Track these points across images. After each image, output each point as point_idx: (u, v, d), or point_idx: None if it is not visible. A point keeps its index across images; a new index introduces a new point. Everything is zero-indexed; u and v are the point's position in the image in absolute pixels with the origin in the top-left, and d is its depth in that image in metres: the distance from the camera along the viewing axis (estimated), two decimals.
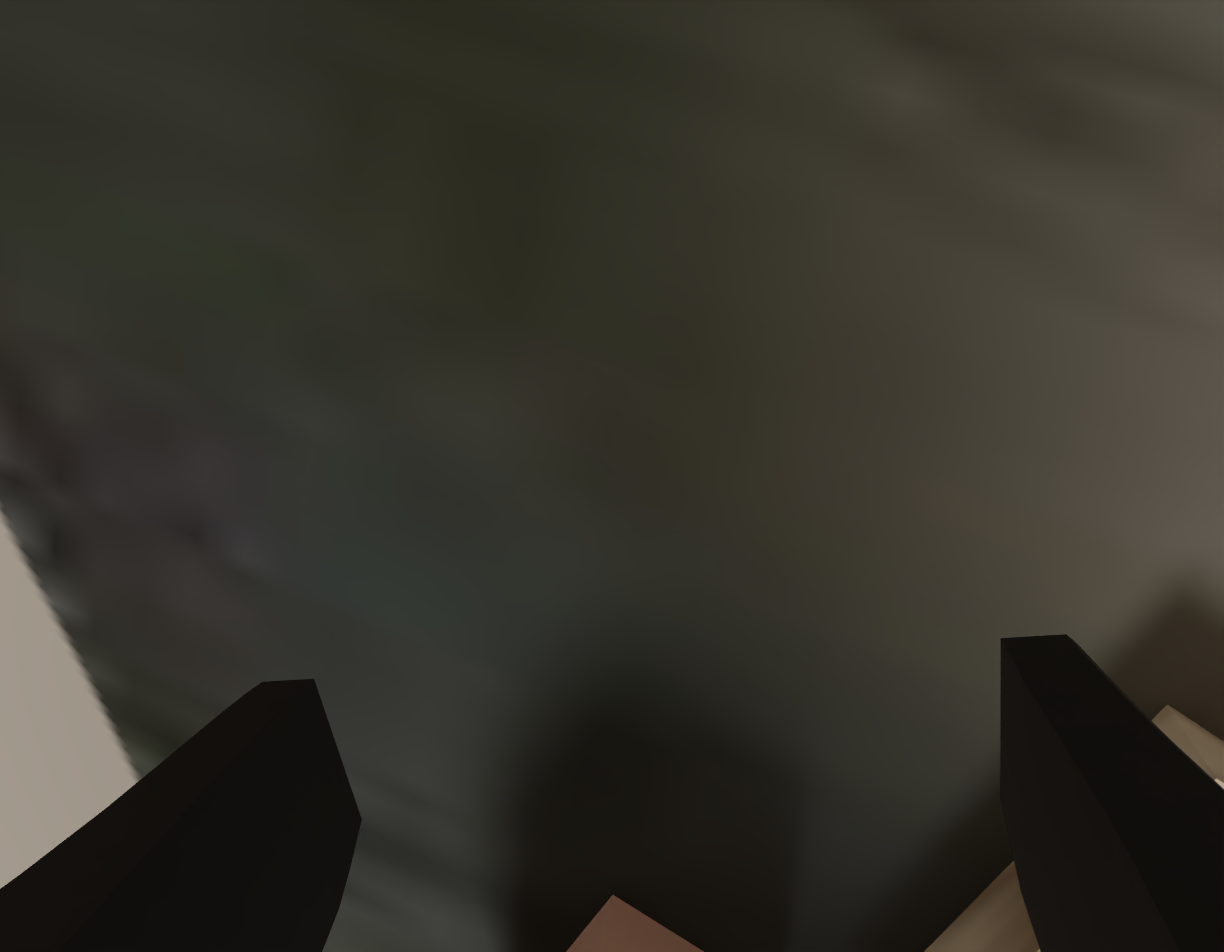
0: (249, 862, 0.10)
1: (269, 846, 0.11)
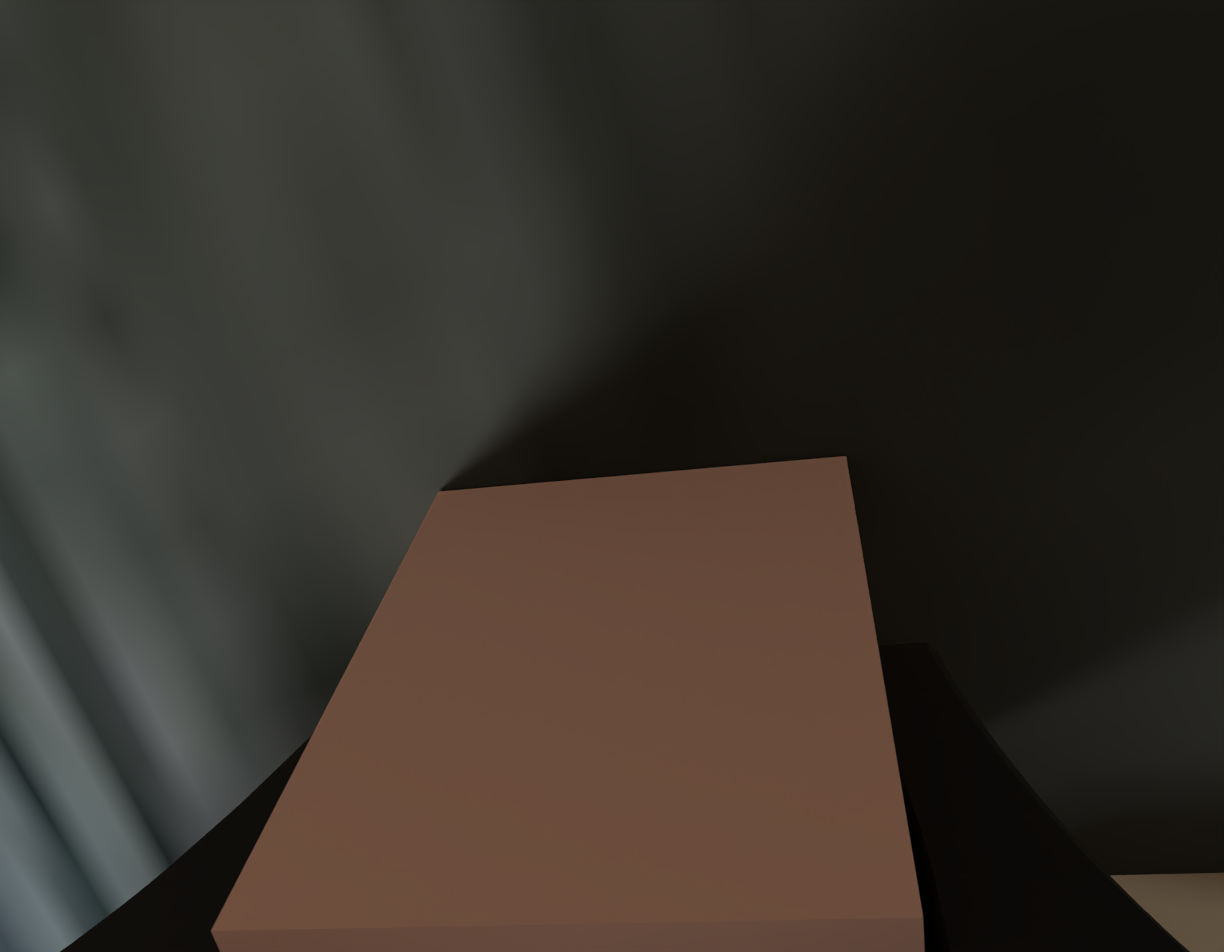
0: None
1: None
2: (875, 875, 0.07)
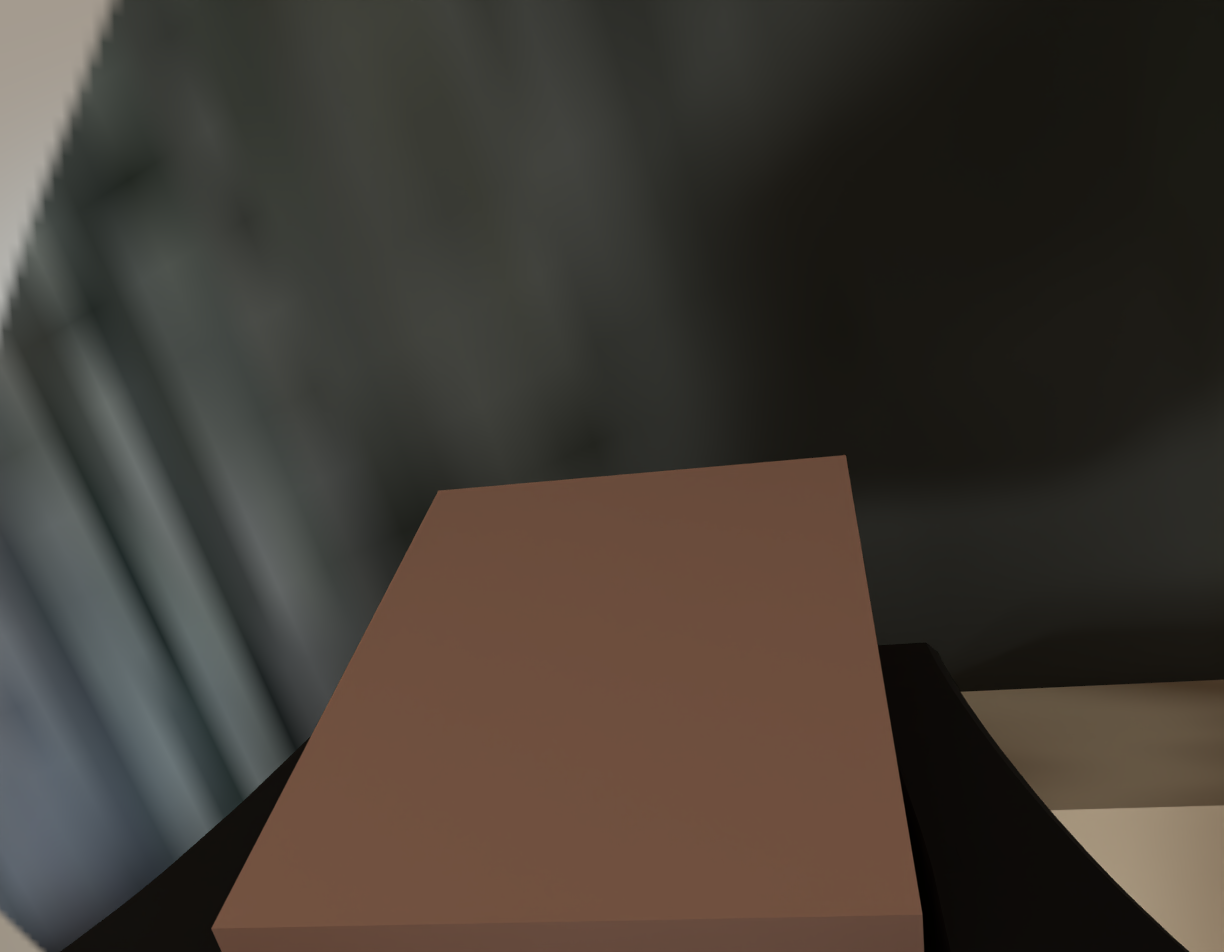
0: None
1: None
2: (875, 873, 0.07)
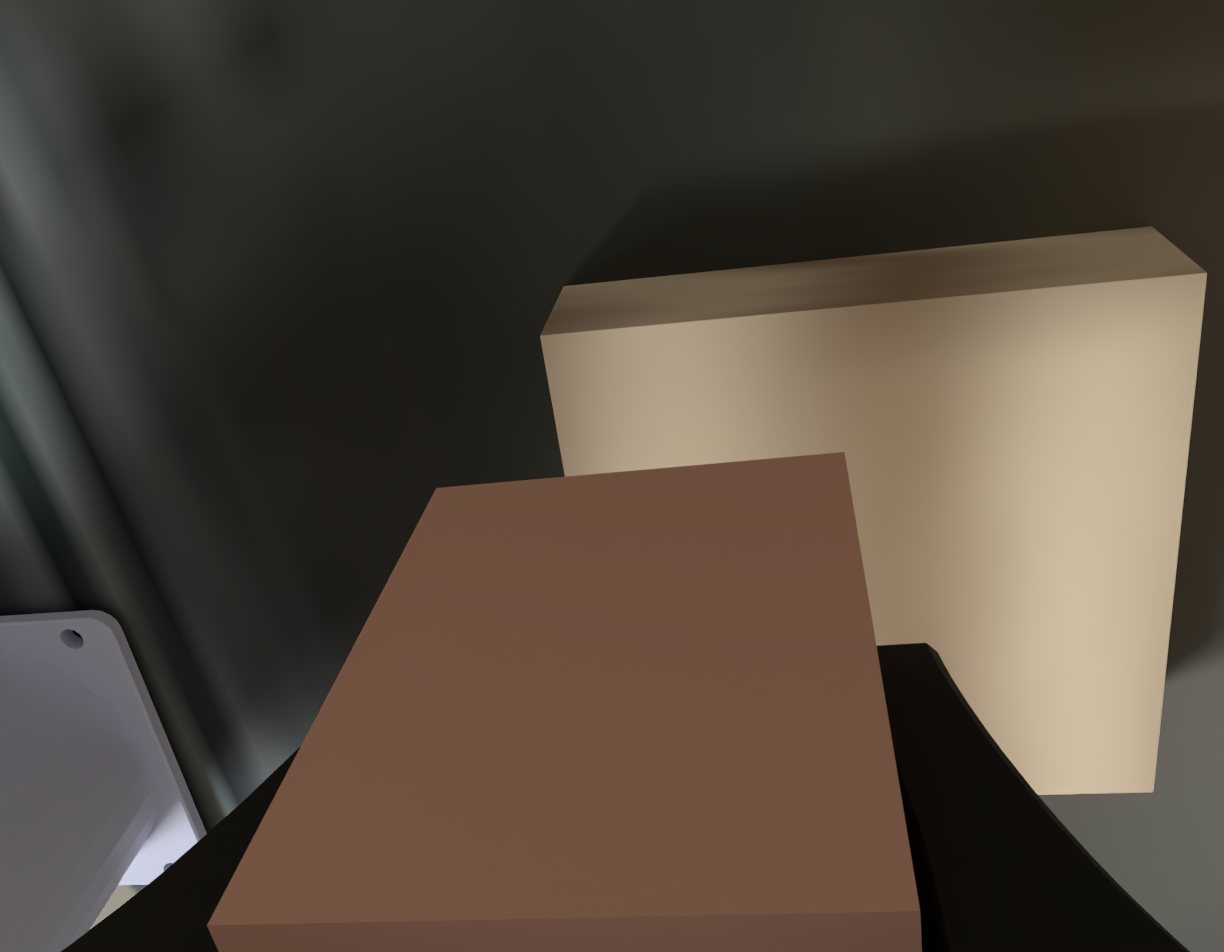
0: None
1: None
2: (872, 869, 0.07)
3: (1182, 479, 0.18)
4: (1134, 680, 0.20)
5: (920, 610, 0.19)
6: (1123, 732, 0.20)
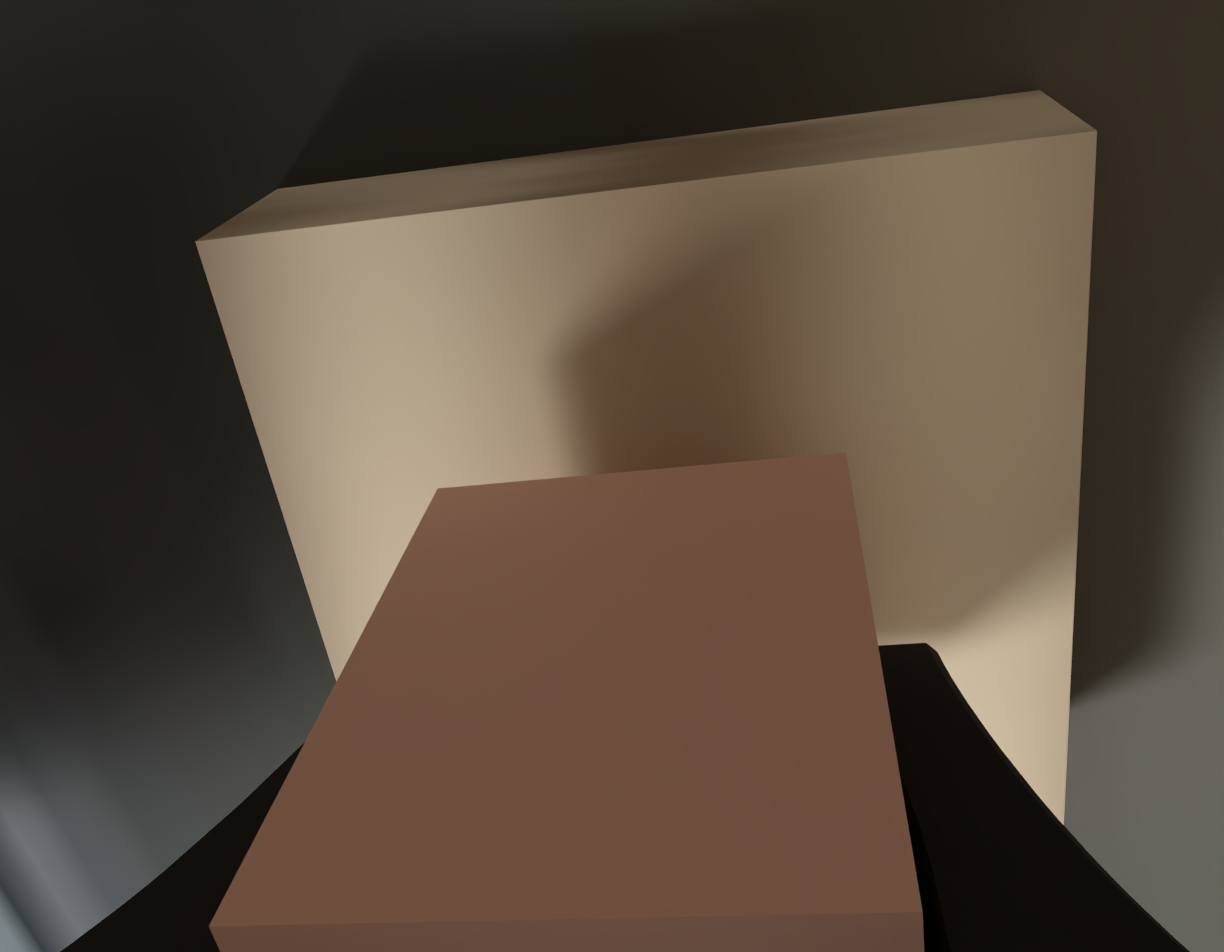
0: None
1: None
2: (874, 871, 0.07)
3: (1078, 431, 0.13)
4: (1029, 704, 0.15)
5: None
6: (1020, 772, 0.15)
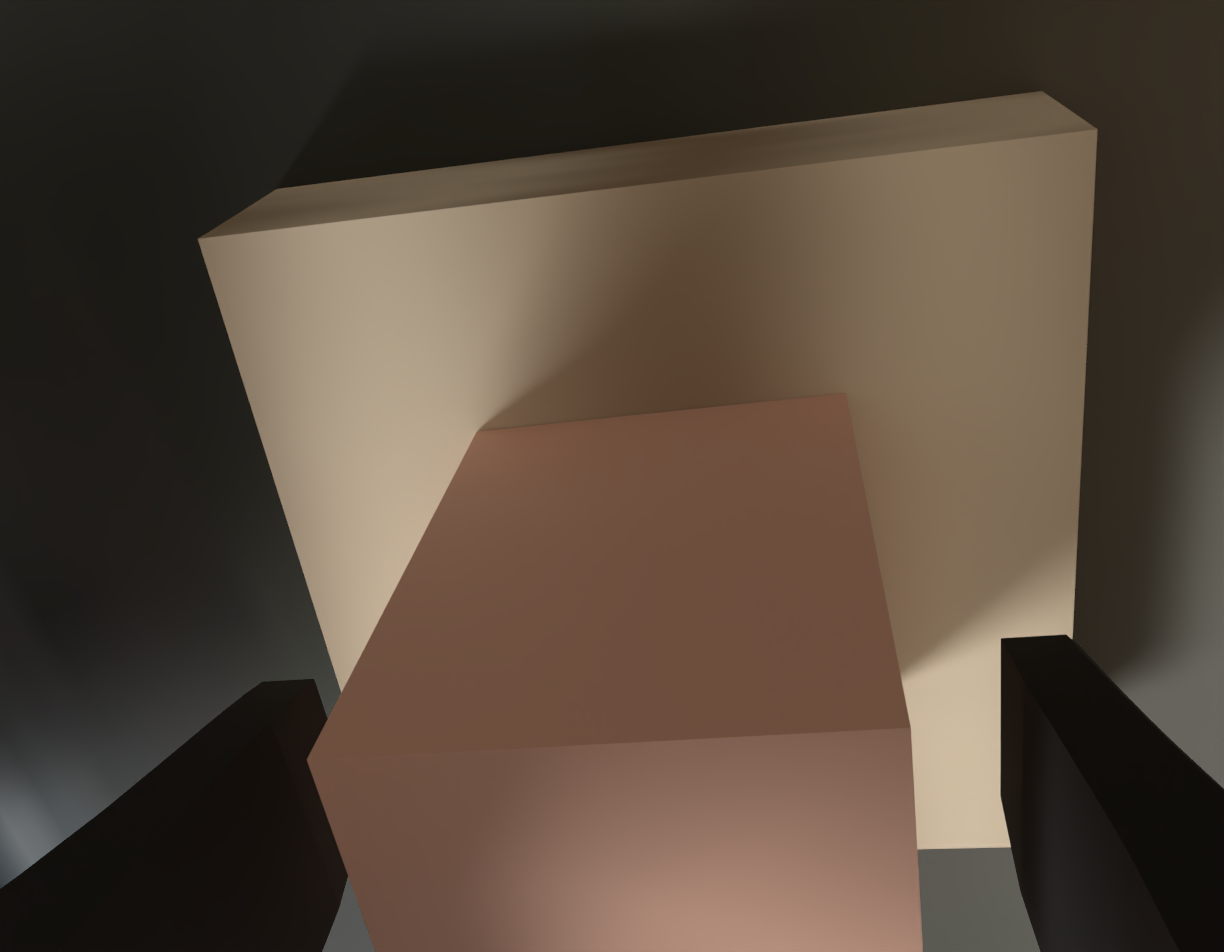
0: (248, 861, 0.10)
1: (269, 846, 0.11)
2: (871, 700, 0.08)
3: (1078, 429, 0.13)
4: None
5: None
6: None
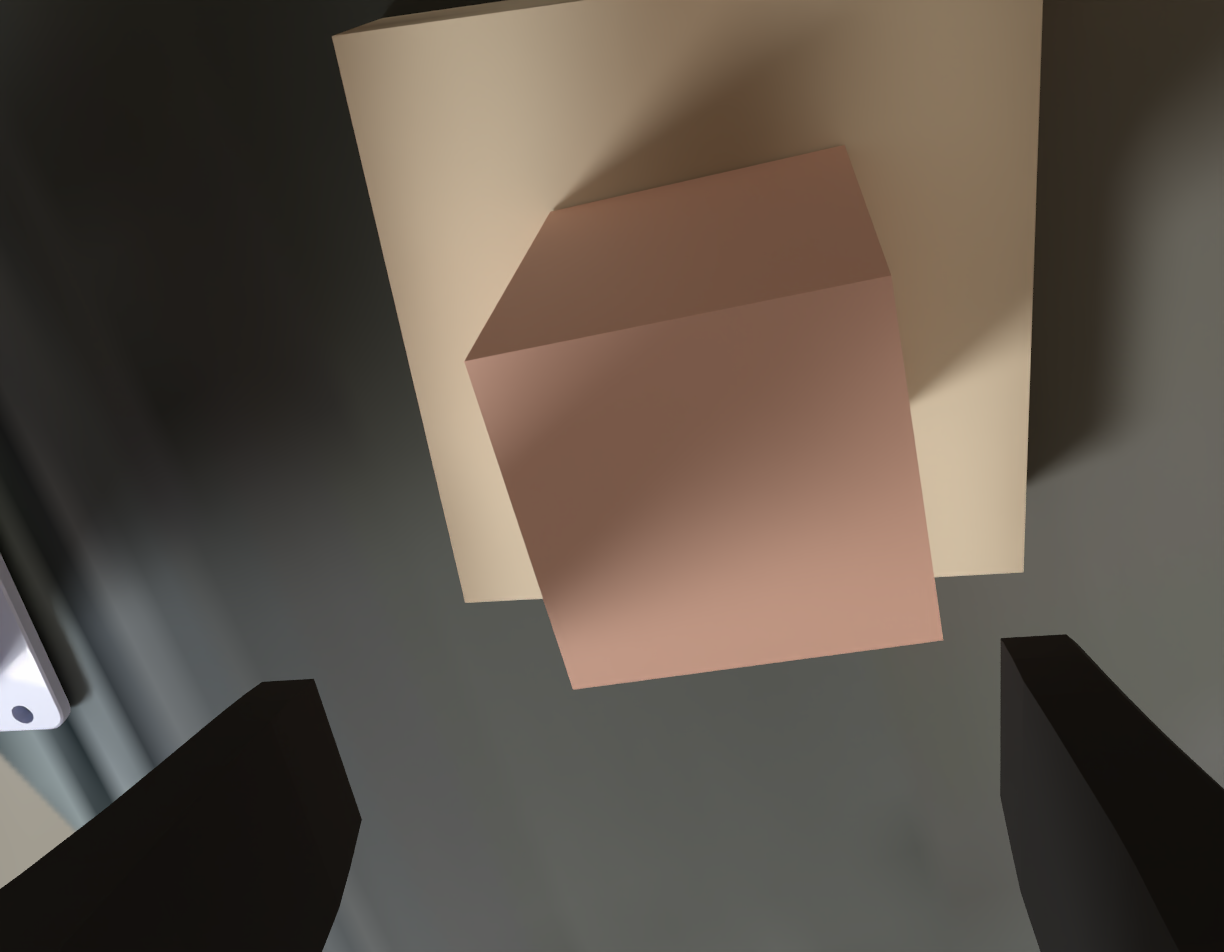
0: (249, 861, 0.10)
1: (269, 846, 0.11)
2: (863, 270, 0.11)
3: (1032, 191, 0.16)
4: (995, 438, 0.18)
5: None
6: (988, 502, 0.19)
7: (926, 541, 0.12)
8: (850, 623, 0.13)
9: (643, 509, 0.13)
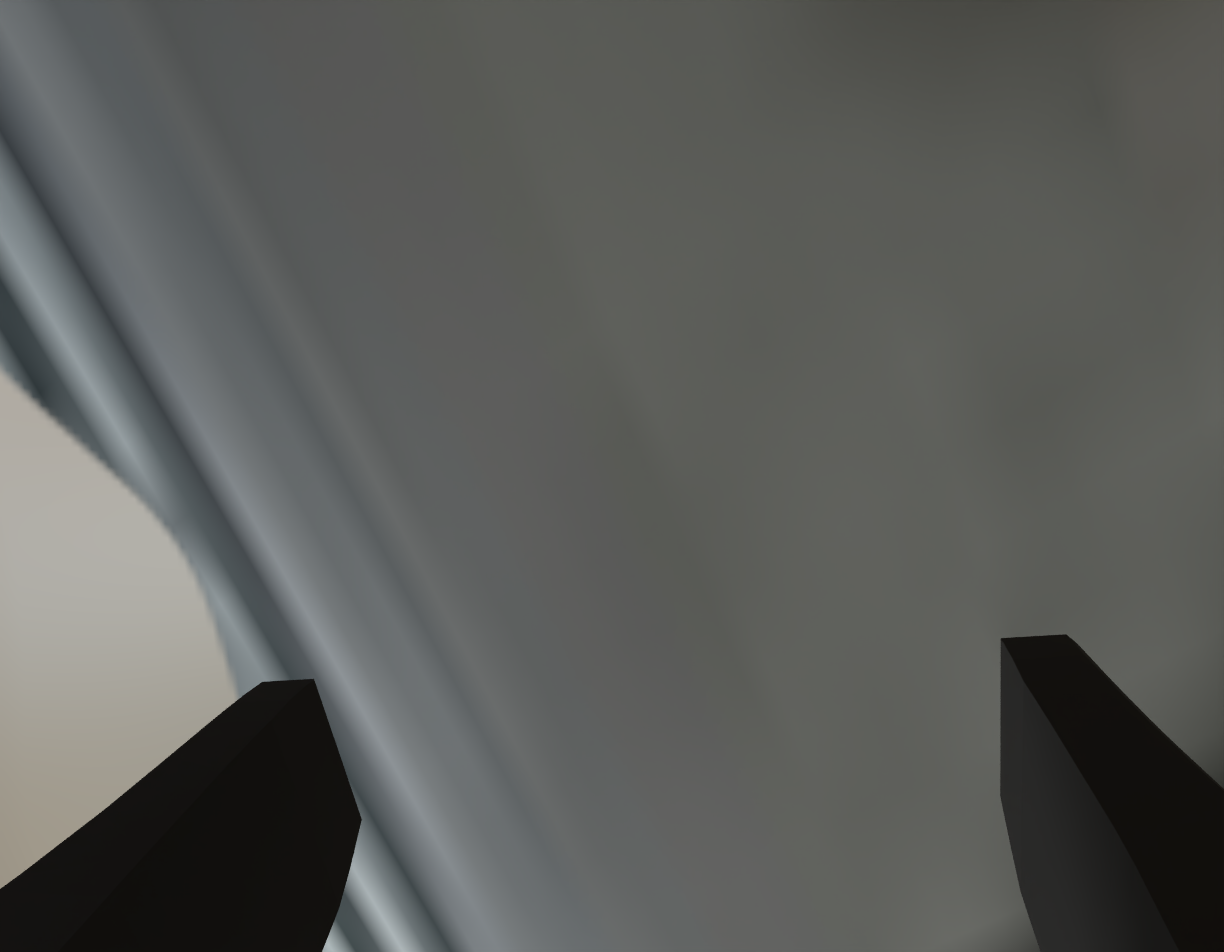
0: (249, 862, 0.10)
1: (269, 846, 0.11)
2: None
3: None
4: None
5: None
6: None
7: None
8: None
9: None
